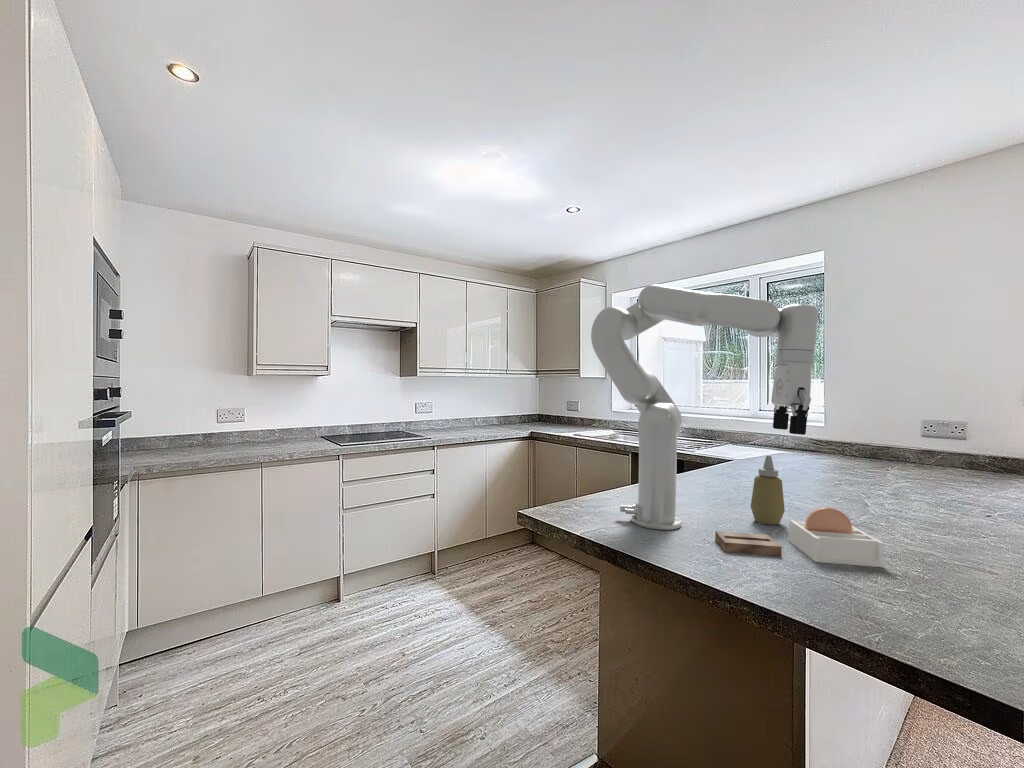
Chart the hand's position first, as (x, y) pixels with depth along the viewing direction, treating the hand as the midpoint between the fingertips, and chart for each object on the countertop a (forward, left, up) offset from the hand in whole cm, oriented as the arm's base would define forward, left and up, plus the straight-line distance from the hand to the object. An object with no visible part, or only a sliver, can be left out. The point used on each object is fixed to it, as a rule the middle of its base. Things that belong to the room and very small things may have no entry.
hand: (788, 431), depth 108 cm
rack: (+8, -5, -26) cm, 28 cm away
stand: (-10, -5, -26) cm, 29 cm away
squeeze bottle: (+2, +17, -27) cm, 31 cm away
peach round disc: (+7, -5, -21) cm, 22 cm away
